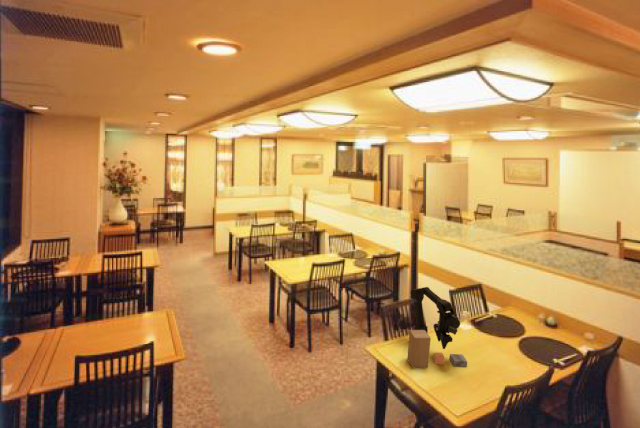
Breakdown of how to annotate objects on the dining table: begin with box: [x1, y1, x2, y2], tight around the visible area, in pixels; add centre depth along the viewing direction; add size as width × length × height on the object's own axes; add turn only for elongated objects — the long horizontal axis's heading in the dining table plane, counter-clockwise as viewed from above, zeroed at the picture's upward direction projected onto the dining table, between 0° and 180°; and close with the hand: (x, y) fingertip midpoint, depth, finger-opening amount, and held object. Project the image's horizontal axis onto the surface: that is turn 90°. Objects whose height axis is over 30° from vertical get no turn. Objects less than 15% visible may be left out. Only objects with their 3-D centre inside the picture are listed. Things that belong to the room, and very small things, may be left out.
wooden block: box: [406, 329, 432, 369], centre depth 223 cm, size 10×10×20 cm
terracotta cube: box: [433, 352, 445, 365], centre depth 227 cm, size 5×5×5 cm
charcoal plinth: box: [449, 353, 468, 368], centre depth 227 cm, size 8×8×4 cm
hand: (441, 345), depth 226 cm, fingers open, 9 cm apart
